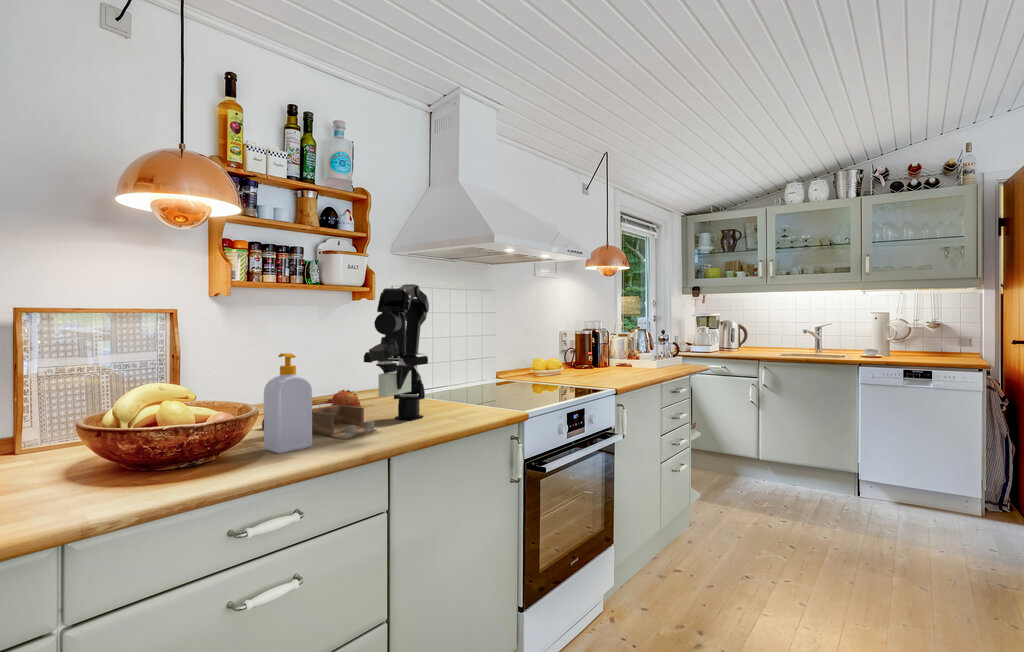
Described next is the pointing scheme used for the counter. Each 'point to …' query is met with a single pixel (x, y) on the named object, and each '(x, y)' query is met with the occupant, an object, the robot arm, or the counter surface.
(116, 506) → the counter surface
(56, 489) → the counter surface
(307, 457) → the counter surface
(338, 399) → the orange-red spiky ball
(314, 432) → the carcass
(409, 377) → the door
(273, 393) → the soap bottle
